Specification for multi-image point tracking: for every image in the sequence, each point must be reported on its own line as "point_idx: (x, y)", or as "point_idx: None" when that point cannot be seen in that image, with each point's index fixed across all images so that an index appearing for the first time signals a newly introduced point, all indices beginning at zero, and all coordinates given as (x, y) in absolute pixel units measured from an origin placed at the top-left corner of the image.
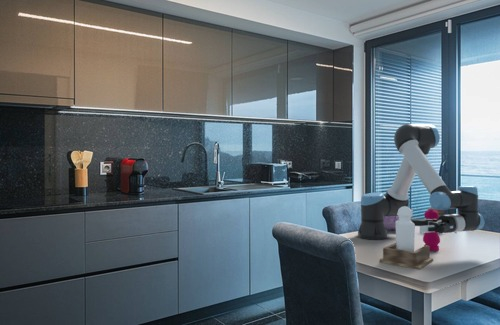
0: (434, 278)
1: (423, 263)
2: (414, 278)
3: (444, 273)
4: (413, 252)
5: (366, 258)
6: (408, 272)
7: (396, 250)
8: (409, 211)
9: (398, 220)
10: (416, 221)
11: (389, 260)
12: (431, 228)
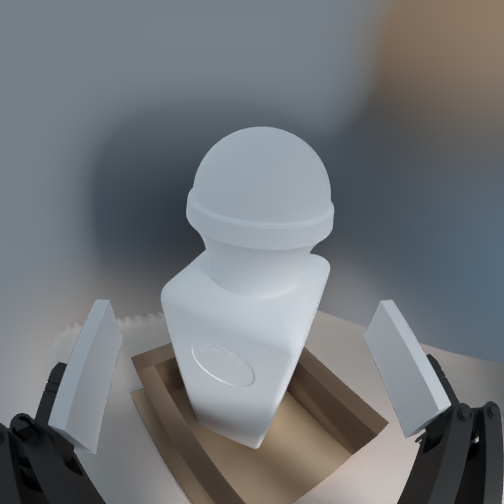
0: (54, 361)
1: (159, 441)
2: None
3: None
4: (144, 359)
5: (319, 326)
6: (128, 346)
7: None
8: (197, 171)
9: (311, 258)
10: (433, 468)
11: None
12: (52, 374)
